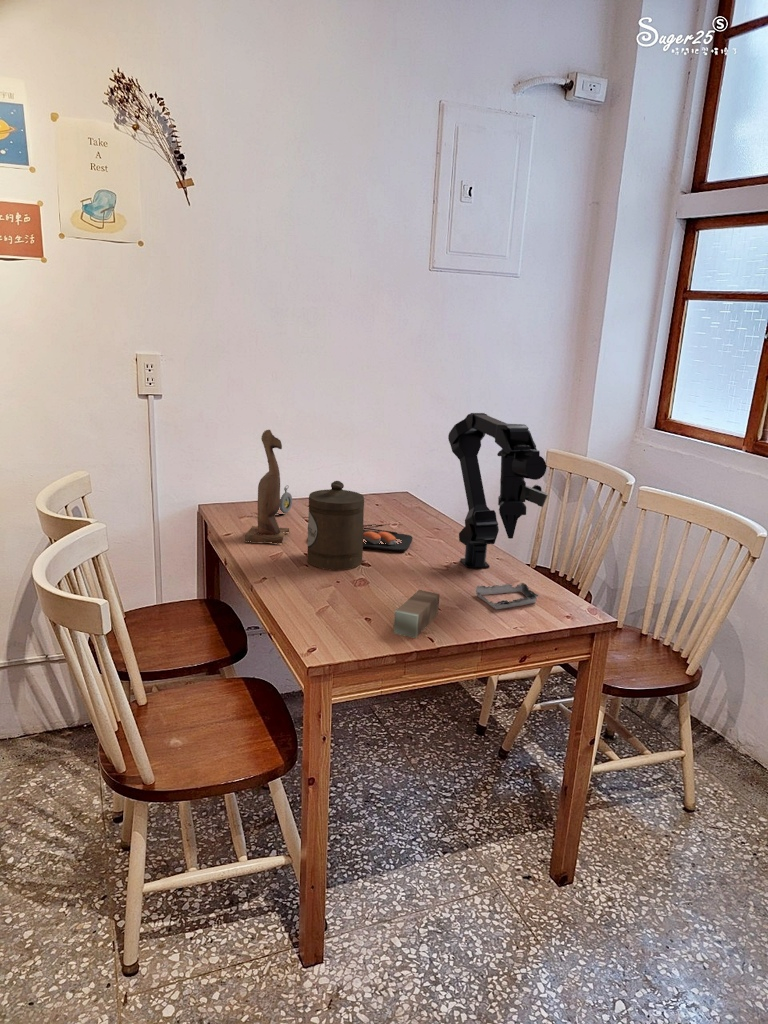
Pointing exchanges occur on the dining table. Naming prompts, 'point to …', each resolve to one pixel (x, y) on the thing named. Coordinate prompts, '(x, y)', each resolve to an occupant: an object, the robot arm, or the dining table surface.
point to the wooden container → (335, 528)
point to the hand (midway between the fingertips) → (510, 538)
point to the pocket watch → (285, 501)
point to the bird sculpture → (268, 498)
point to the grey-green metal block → (416, 613)
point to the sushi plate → (385, 539)
